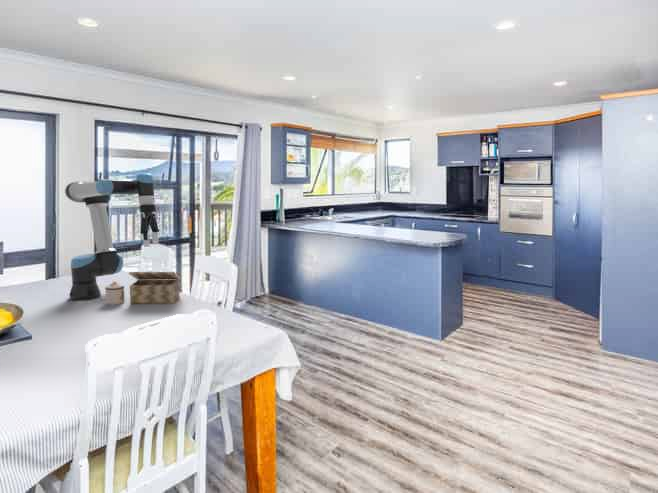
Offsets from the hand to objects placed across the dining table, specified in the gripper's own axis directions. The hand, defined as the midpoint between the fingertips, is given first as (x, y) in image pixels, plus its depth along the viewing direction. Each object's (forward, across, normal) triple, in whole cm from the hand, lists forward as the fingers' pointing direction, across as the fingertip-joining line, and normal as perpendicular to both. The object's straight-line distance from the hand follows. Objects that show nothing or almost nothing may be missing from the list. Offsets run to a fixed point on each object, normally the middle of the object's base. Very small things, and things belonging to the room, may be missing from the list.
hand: (151, 245), depth 221 cm
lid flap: (+18, +10, +3) cm, 20 cm away
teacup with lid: (+30, +7, +24) cm, 39 cm away
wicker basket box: (+31, +10, +4) cm, 33 cm away
